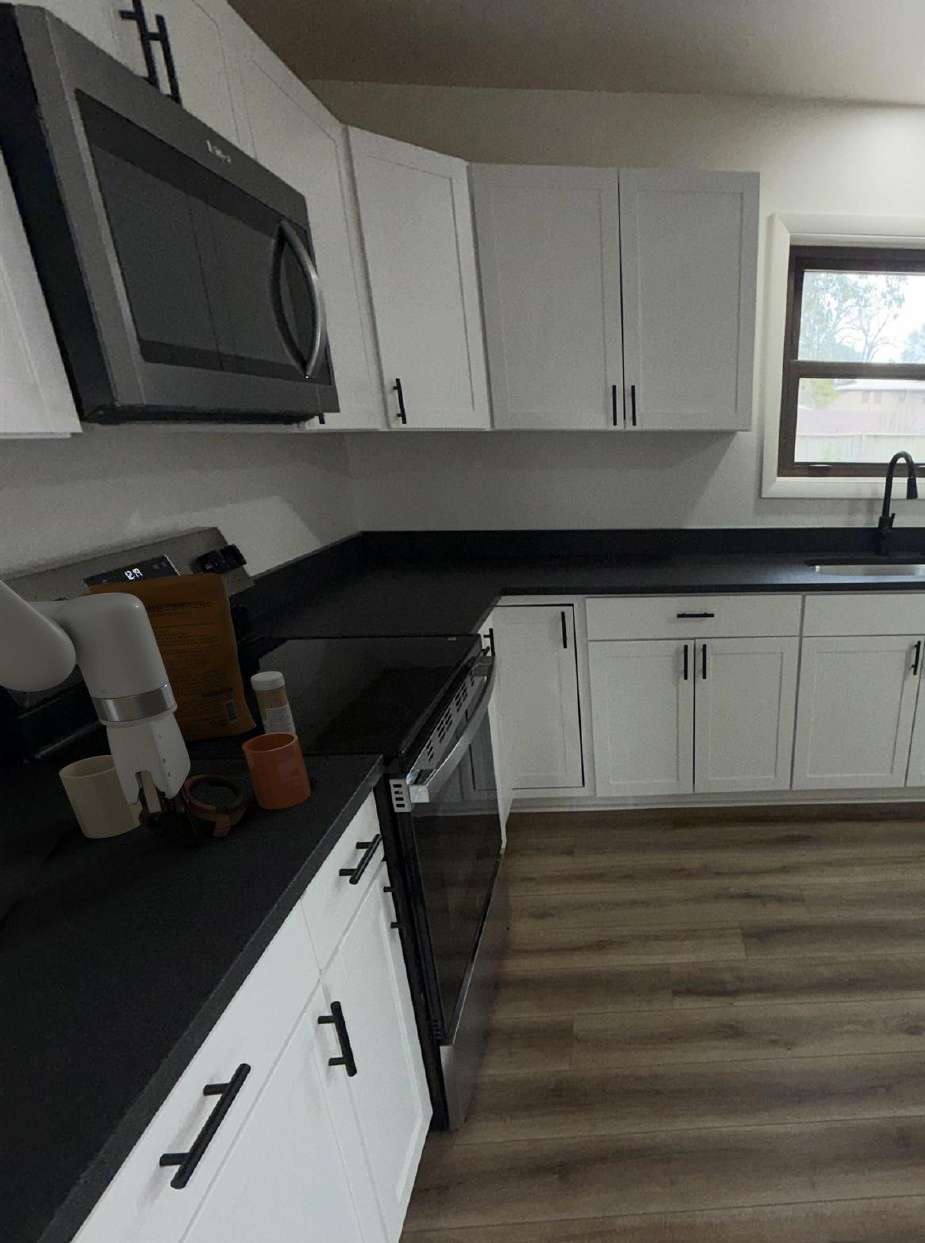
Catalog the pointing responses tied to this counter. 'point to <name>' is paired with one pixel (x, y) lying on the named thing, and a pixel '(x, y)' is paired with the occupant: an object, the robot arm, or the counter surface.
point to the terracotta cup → (277, 770)
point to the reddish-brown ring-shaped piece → (206, 806)
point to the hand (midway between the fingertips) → (183, 836)
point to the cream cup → (99, 798)
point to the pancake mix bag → (195, 650)
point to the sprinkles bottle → (273, 702)
